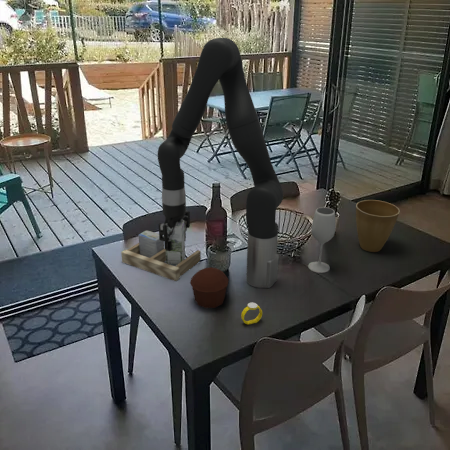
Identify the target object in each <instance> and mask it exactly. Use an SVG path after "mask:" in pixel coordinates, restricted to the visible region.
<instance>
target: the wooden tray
mask: <svg viewBox="0 0 450 450" xmlns="http://www.w3.org/2000/svg"><path fill="white" fill-rule="evenodd" d="M120 254H121V263H123V264H126V265H129V266H131V267H135V268H138V269H140V270H143V271H145V272H149V273H152V274H154V275H156V276H159V277H162V278H166V279H169V280H172V281H173V282H177V281H179V280H180V278H181V277H182V276H183V275H184V274H186V273H187V272H188V271H190V270H191V269H193V268H194V267H195V266H196V265H198V264H199V263H200V262H201V261H202V260H201V259H202V257H201V250H199V249H198V250H195V251H194V252H193V253H191V254H190V255H189V256H187V257H185V259H184V260H183V261H182V262H180V263H179V264H178V265H171V264H166V250H165V248H164V249H163V250H162V251H160V252H159V253H157V254H155V255H154V256H152V257H151V258H149V257H146V256H143V255H140V249H139V242H137V243H136V244H134V245H132V246H131V247H129V248H128V249H124V250H123V251H121V253H120ZM200 260H201V261H200ZM199 261H200V262H199ZM198 262H199V263H198ZM197 263H198V264H197ZM193 266H194V267H193ZM189 269H190V270H189Z"/></svg>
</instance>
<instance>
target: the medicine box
mask: <svg viewBox="0 0 450 450" xmlns="http://www.w3.org/2000/svg"><path fill="white" fill-rule="evenodd" d="M137 236H138V243H139V249H140V255H143V256H146V257H149V258H151V257H152V256H154V255H155V254H157V253H159V252H160V251H162V250H163V249H165V245H164V241H161V240H159V233H156V232H155V231H154V232H153V231H150V230H144V231H143V232H141V233H139V234H138V235H137ZM163 237H164V235H163Z"/></svg>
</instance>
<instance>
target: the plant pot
mask: <svg viewBox="0 0 450 450" xmlns="http://www.w3.org/2000/svg"><path fill="white" fill-rule="evenodd" d="M400 212H401V210H400V208H399V207H397V206H396V205H394V204H393V203H389V202H387V201H384V200H383V201H382V200H376V199H364V200H360V201H358V202H357V203H356V205H355V221H356V222H355V223H356V224H355V225H356V232H357V238H358V243H359V246H360V248H361V249H362V250H363V251H366V252H370V253H377V252H380V251H382V249H383V247H384V246H385V244H386V242H387V241H388V239H389V237H390V236H391V234H392V233H393V232H392V231H393V230H394V227H395V225H396V222H397V220H398V217H399V215H400Z"/></svg>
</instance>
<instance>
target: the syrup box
mask: <svg viewBox="0 0 450 450" xmlns="http://www.w3.org/2000/svg"><path fill="white" fill-rule="evenodd" d="M167 228H168V229H167V231H169V232H171V231H172V229H173V227H172V229H170V227H169V226H168V227H167ZM167 235H168V237H169V234H168V233H167ZM171 244H172V250H171V251H167V250H166V261H165V263H166V264H169V265H172V266H176V265H178V264H179V263H180V262H182V261H183V260H185V259H186V246H185V245H186V241H185V227H184V222H182V223H180V222H179V223H178V226H176V227H175V234H174V235H173V236H172V239H171Z"/></svg>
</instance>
